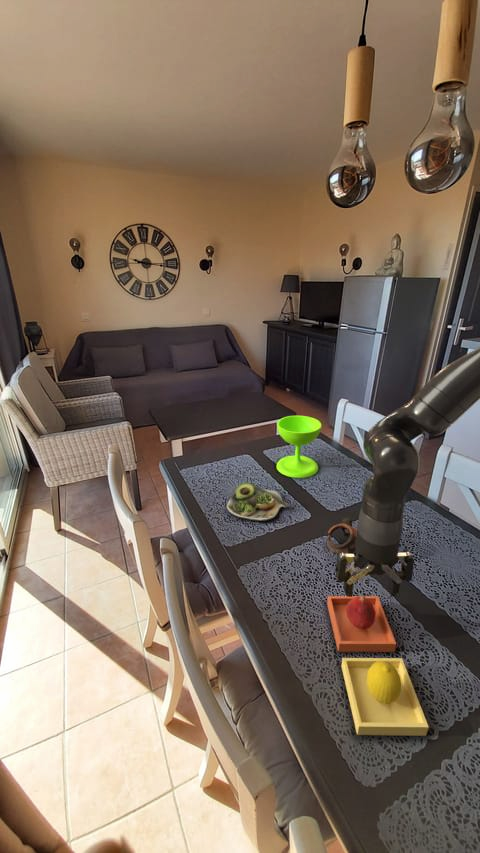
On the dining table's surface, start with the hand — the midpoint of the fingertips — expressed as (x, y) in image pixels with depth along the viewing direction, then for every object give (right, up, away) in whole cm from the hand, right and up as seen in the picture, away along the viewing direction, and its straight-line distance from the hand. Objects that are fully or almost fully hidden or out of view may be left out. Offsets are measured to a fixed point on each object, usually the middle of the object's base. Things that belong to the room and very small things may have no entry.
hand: (370, 593), depth 73 cm
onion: (-1, -9, +4) cm, 10 cm away
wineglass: (-4, +18, +65) cm, 68 cm away
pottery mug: (+3, +1, +26) cm, 26 cm away
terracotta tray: (-1, -9, +4) cm, 10 cm away
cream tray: (-1, -15, -9) cm, 17 cm away
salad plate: (-22, +8, +44) cm, 50 cm away
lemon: (-1, -14, -9) cm, 17 cm away
